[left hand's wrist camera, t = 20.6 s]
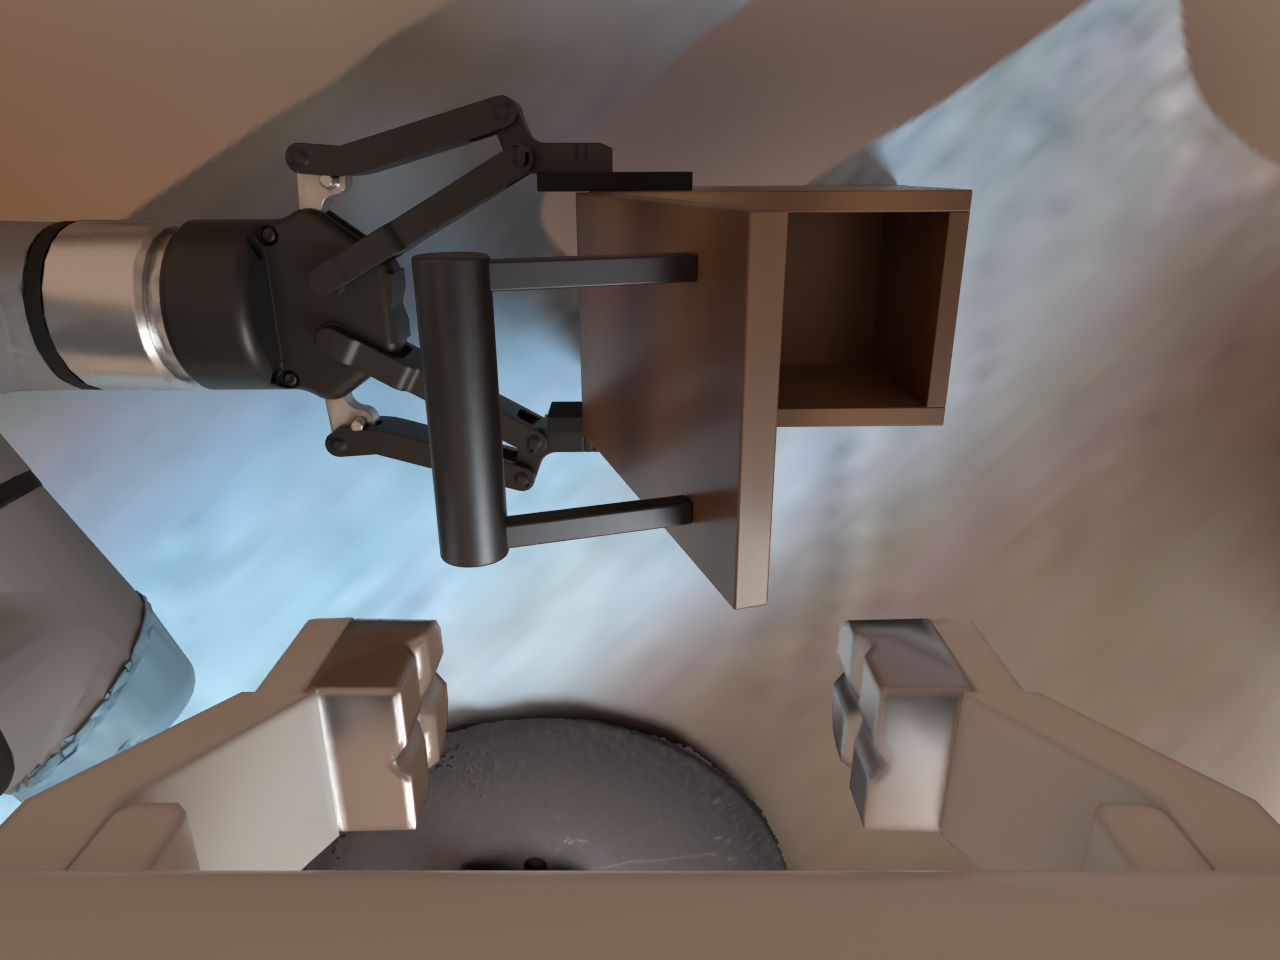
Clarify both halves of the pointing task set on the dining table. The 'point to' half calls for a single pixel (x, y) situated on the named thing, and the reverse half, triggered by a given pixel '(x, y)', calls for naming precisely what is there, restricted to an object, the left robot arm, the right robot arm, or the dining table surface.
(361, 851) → the round grey tray
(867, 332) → the chest
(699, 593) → the dining table surface
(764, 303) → the lid
